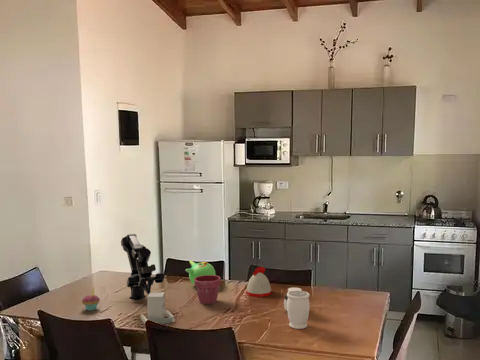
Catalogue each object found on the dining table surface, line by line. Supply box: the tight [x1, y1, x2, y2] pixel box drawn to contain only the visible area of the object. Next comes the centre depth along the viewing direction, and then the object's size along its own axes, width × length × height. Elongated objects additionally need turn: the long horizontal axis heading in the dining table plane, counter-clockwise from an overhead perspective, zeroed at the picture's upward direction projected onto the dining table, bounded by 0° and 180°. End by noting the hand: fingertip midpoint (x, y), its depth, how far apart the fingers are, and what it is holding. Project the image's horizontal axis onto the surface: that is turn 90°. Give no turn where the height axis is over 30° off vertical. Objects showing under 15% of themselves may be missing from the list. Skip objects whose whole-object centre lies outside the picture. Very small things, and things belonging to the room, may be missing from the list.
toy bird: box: [185, 260, 217, 285], centre depth 278 cm, size 18×17×15 cm
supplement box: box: [146, 291, 166, 320], centre depth 222 cm, size 7×7×13 cm
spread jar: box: [283, 287, 303, 312], centre depth 233 cm, size 12×11×12 cm
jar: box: [286, 290, 311, 330], centre depth 213 cm, size 11×10×15 cm
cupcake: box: [81, 286, 101, 312], centre depth 238 cm, size 9×8×12 cm
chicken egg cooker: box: [246, 266, 272, 298], centre depth 263 cm, size 14×14×15 cm
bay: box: [140, 309, 176, 325], centre depth 222 cm, size 11×13×2 cm
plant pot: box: [193, 274, 222, 305], centre depth 249 cm, size 14×14×13 cm
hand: (149, 294), depth 234 cm, fingers closed
